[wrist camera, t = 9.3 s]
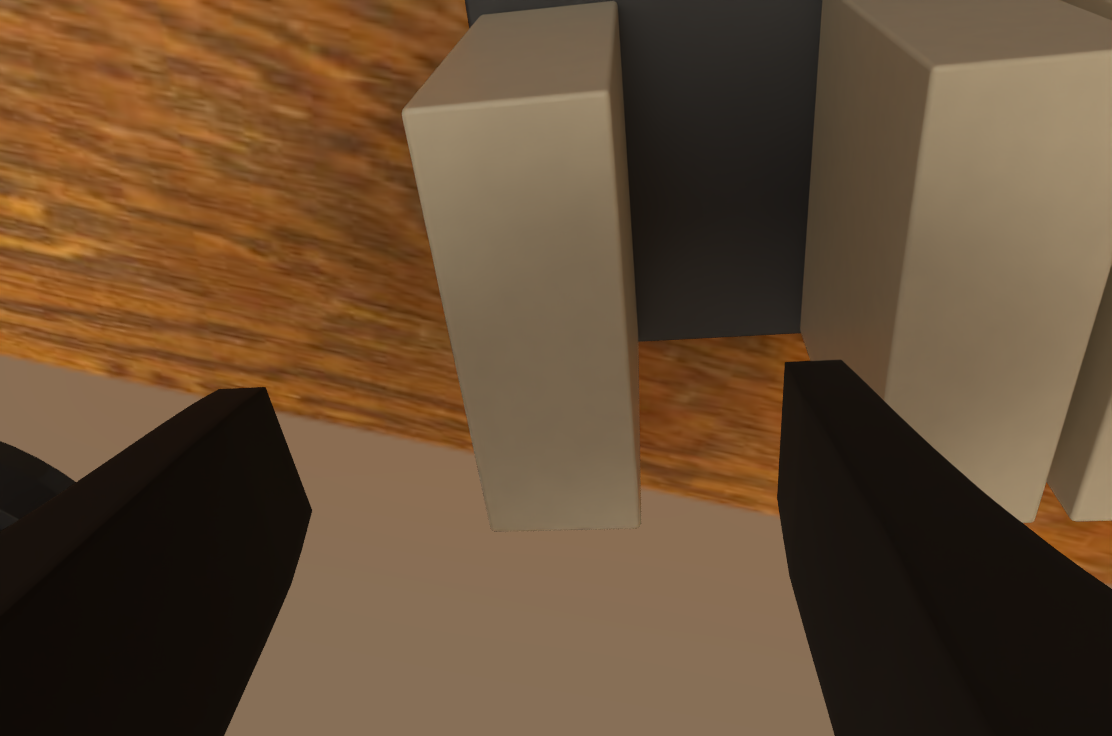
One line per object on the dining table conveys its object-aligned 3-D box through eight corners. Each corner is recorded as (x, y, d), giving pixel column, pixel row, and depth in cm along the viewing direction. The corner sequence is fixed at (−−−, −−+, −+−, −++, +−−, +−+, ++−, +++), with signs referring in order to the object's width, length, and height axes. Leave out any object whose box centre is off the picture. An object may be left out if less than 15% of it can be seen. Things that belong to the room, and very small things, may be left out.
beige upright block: (918, 324, 17) (1036, 524, 12) (799, 331, 17) (866, 528, 13) (976, -35, 13) (1182, 43, 8) (823, -18, 14) (932, 66, 9)
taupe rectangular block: (638, 337, 18) (641, 529, 13) (528, 342, 18) (489, 534, 13) (617, -1, 14) (610, 89, 9) (479, 14, 14) (398, 109, 9)
